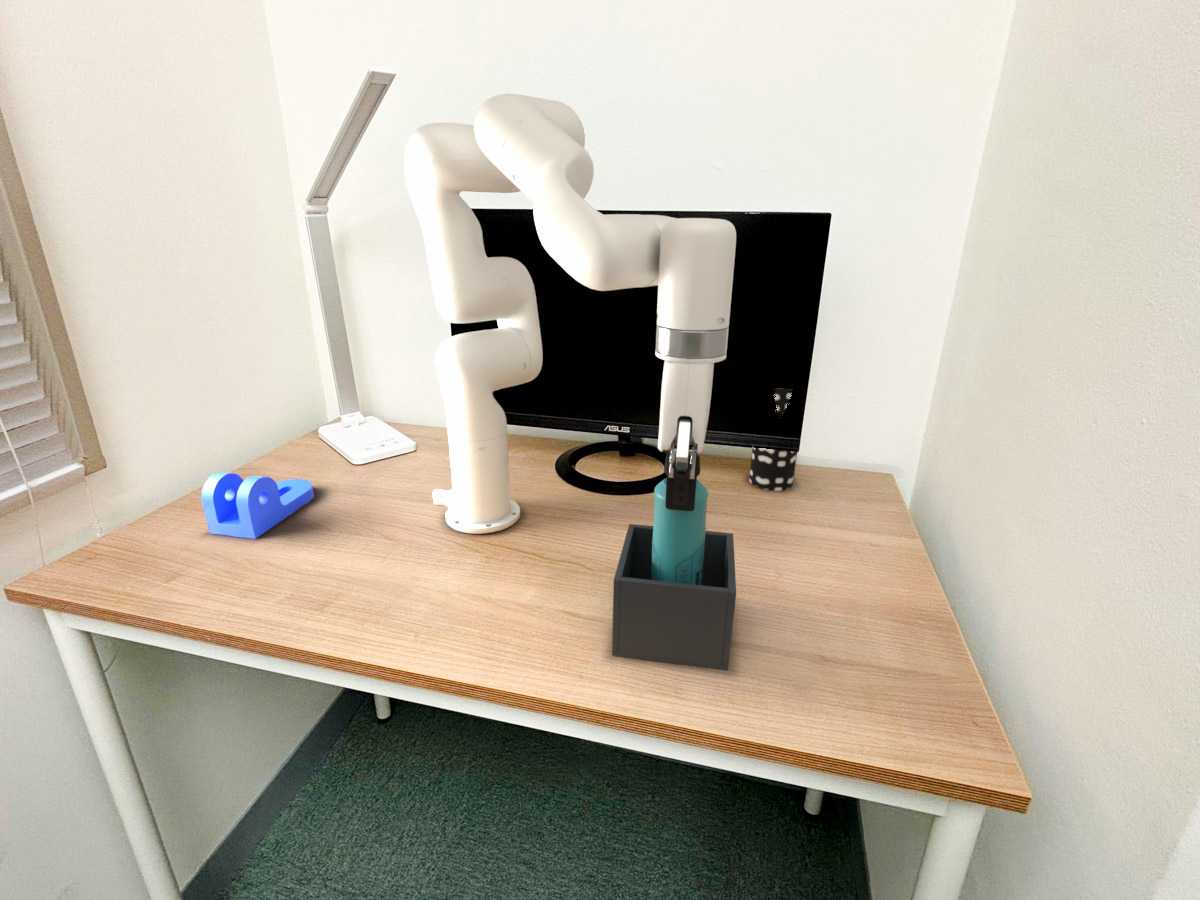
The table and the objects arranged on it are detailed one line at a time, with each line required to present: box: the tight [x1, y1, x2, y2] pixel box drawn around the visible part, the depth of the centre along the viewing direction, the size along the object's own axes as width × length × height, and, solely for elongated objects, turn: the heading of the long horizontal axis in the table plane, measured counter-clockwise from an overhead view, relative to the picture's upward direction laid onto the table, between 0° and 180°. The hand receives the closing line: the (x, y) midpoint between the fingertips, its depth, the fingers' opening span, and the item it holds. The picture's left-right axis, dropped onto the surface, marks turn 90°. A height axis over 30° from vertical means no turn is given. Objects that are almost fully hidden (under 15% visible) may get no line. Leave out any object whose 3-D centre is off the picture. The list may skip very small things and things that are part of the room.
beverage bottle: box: [650, 451, 709, 586], centre depth 74 cm, size 6×7×20 cm
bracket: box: [201, 471, 315, 540], centre depth 106 cm, size 18×8×9 cm, turn 169°
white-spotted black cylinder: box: [748, 388, 798, 492], centre depth 117 cm, size 8×8×20 cm
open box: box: [611, 523, 737, 671], centre depth 77 cm, size 14×14×11 cm
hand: (681, 494), depth 72 cm, fingers closed on beverage bottle, 6 cm apart
